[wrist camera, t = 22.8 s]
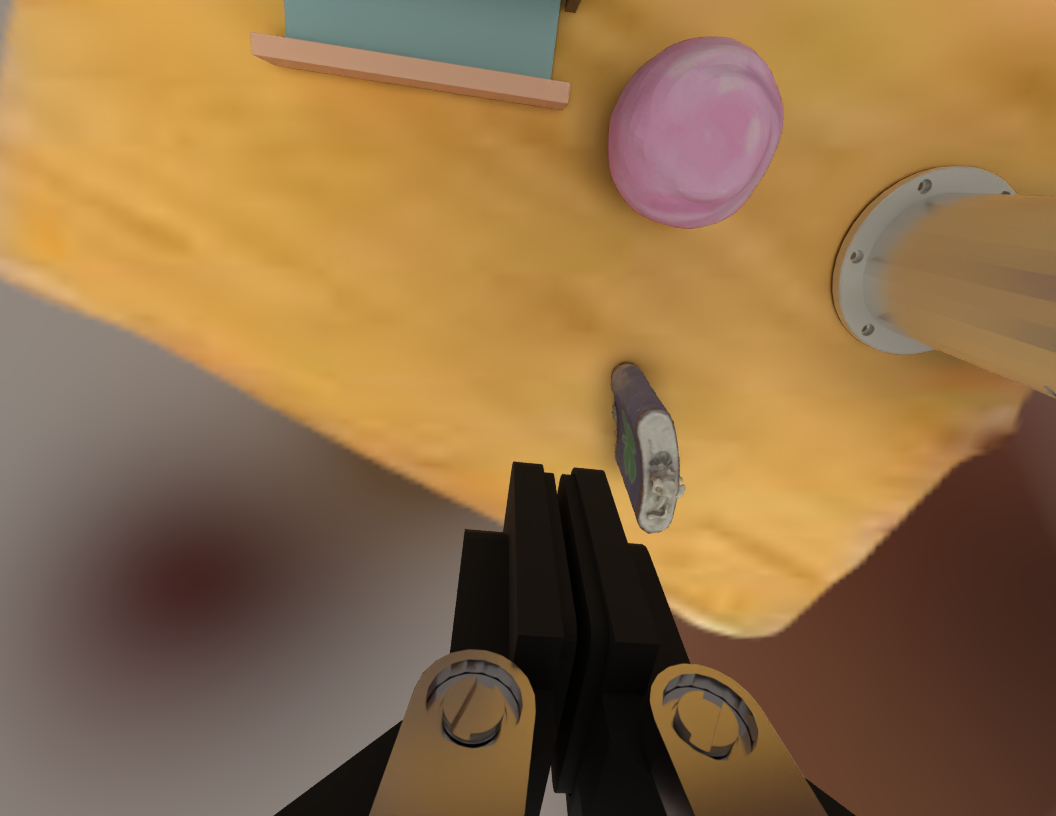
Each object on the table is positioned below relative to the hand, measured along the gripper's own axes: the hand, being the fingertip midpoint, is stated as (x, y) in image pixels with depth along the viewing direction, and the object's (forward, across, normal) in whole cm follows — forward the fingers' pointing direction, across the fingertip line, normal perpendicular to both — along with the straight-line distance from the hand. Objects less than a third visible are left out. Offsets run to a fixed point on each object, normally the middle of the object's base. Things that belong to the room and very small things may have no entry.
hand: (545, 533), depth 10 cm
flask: (+29, -10, +10) cm, 33 cm away
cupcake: (+29, -8, -9) cm, 32 cm away
